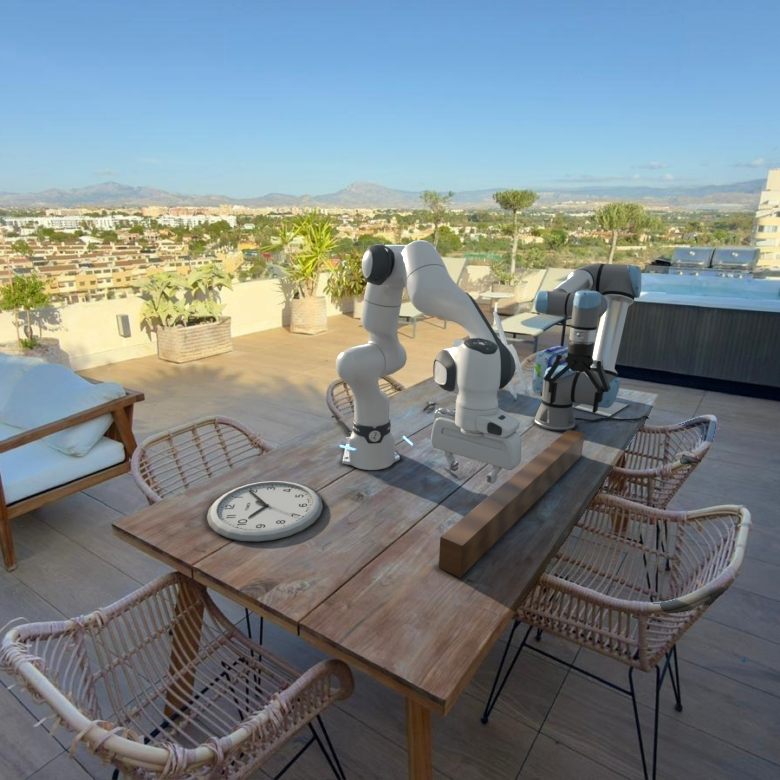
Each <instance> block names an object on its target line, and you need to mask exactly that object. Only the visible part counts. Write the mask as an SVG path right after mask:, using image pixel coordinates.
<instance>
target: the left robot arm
mask: <svg viewBox="0 0 780 780" xmlns="http://www.w3.org/2000/svg"><path fill="white" fill-rule="evenodd" d="M361 274H362V276H363V278H364V280H365V281H366V286H365V289H364V295H363V301H362V307H361V313H360V324H361V327H362V328H363V330H365V331H366V332H367V333H368V341H367V343H366V344H360V345H356V346H352V347H349V348H347V349H345V350H343V351H342V352H340V353H339V354H338V355H337V357H336V360H335V372H336V375H338V377H339V379H340V380H341V381H342V382H343V383H346V385H348V387H349V389H350V391H351V393H352V398H353V409H354V410H353V411H354V413H353V414H354V417H353V418H354V419H353V421H352V431H349V429H348V427H347V426H346V425H345V424H344V423H343V422H342V421H341V420H340V418H338V416H337V415H336V414H332V416H331V418H332V419H333V418H334V419H335V420H336V421H337V422H338V423H339V425H341V427H342V428H343V429H344V430H345V432H346V433H347V435H348V436H346V437H345V445H343V444H339V448H342V449H344V453H343V457H342V464H344V465H347V466H351V467H353V468H357V469H360V470H365V471H378V470H384V469H387V468H389V467H391V466H393V464H394V463H396V462H398V461H400V460H401V456H400V455H399V454H398V453H397V452H396V437H395V436H394V434H393V433H391V427H392V423H391V419H390V397H389V395H388V394H387V393H386V392H385V391H384V390H381V388H380V384H379V381H380V380H379V379H381V378H383V377H384V378H385V377H386V376H391V375H394V374H395V373H397V372H398V371H400V370H401V369H403V368H404V367H405V365H406V363H407V360H408V359H407V356H408V355H407V351H406V349H405V347H404V346H403V344H402V343H401V342H400V340H399V335H398V327H399V320H400V313H401V308H402V302H403V295H404V290H405V291H406V294H407V296H408V299H409V301H410V302H411V304H412V306H413V308H414V309H416V310H417V311H418V312H420V313H421V314H424V315H426V316H430V317H435V318H439V319H444V320H447V321H451V322H453V323H456V324H457V325H458V326H460V327H461V328H463V329H464V331H465V332H466V334H467V335H468V337H469V338H467V339H464V342H463V343H462V344H461V345H460V346H458V347H454V348H453V347H449V348H444V349H442V350H441V351H440V352H439V353H437V355H436V357H435V359H434V361H433V365H432V371H433V372H432V374H433V380H434V382H435V383H436V385H438V386H439V387H440V388H441V389H443V390H444V391H447V392H450V393H451V392H453V393H456V400H455V410H452V409H446V408H444V407H440V408H438V409H436V410H435V411H434V412H433V419H432V421H433V425H432V429H431V435H430V445H431V446H432V447H433V449H437V450H440V451H444V457H445V459H446V461H447V463H448V470H449V471H451V472H456V471H458V469H459V461H456V459H455V456H454V455H457V456H460V457H464V458H467V459H469V460H470V459H471V460H474V461H477V462H481V463H484V464H488V465H490V466H492V470H493V471H490V472H489V473H488V474H487V475H486V483H489V484H493V485H494V484H495V483H496V482H497V479H498V474H500V472H501V471H502V470H503V469H504V470H508V471H512V470H514V469H515V468H516V467H518V466H519V465H520V463H521V460H522V440H521V435H520V433H519V432H518V431H517V430H519V428H520V425H521V424H520V423H521V422H520V420H519V419H517V418H516V417H514V416H512V415H511V414H509V413H507V412H506V411H504V410H503V409H501V408H500V407H499V399H498V393H499V390H502V389H504V388H505V387H506V386H508V383H509V382H510V380H511V379H512V380H513V377H514V375H515V373H516V366H515V360H514V358H513V356H512V354H511V352H510V351H509V350H508V348H507V347H506V346H505V345H504V344H503V343H502V341H501V338H500V337H499V336H498V334H497V333H496V331H495V330H494V328H493V327H492V325H491V323H490V322H489V320H488V319H487V317H486V315H485V314H484V312H483V311H482V309H481V307H480V306H479V304H478V303H477V301H476V300H475V299H474V297H473V296H472V295H471V294H469V293H468V292H466V291H465V290H463V288H461V287H460V286H459V285H458V284H457V283H456V282H455V281H454V279H453V278H452V276H451V275H450V273H449V271H448V269H447V266H446V264H445V262H444V260H443V258H442V256H441V254H440V253H439V252H438V250H437V249H436V248H435V246H434V244H433V243H431V242H429V241H427V240H421V239H419V240H418V239H417V240H414V241H411V242H409V243H408V244H383V243H380V244H379V243H378V244H373V245H369V246H368V247H366V249H365V251H364V252H363V254H362V259H361ZM402 439H404V440H405V442H407V443H408V444H409V445H411V446H414V444H413V442H412V441H410V439H408V438H407V437H406V436H405V435H403V436H402Z"/></svg>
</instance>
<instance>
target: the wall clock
mask: <svg viewBox="0 0 780 780" xmlns="http://www.w3.org/2000/svg"><path fill="white" fill-rule="evenodd" d="M323 507H324V506H323V501H322V498H321V497H320V495H318V492H316V491H314V490H312V489H311V488H310V487H308V486H306V485H302V484H299V483H297V482H291V481H281V480H269V481H268V480H267V481H258V482H253V483H248V484H245V485H242V486H239V487H235V488H233V489H232V490H229V491H228V492H226V493H224V494H223V495H221V496H220V497H219V498H217V499H216V500H215V501H214V502H213V503H212V504H211V505H210V507H209V509H208V512H207V514H206V515H207V516H206V520H207V523H208V525H209V527H210V528H211V529H212V530H213V531H214V532H215V533H216V534H218V535H220V536H223V537H224V538H227V539H231V540H236V541H239V542H240V541H241V542H258V543H259V542H264V541H265V542H267V541H276V540H278V539H283V538H287V537H290V536H293V535H295V534H298V533H301V532H302V531H305V529H308V528H309V527H310V526H311V525H313V524H314V523H315V522H316V521H317V520H318V519H319V518H320V516H321V514H322V511H323Z"/></svg>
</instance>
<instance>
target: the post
mask: <svg viewBox="0 0 780 780" xmlns="http://www.w3.org/2000/svg"><path fill="white" fill-rule="evenodd" d="M584 442H585V433H584V432H579V431H576V430H567V431H564V432H563V433H562V434H561V435H560V436H559V437H558V438H556V439H555V440H554V441H552V442H551V443H550V444H549V445H548V446H547V447H545V448H544V449H543V450H542V451H541V452H539V454H537V455H536V456H534V458H532V459H531V460H530V461H529V462H528V463H526V464H525V465H524V466H523V467H521V469H519V470H518V471H517V472H516V473H515V474H513V475H512V476H511V477H510V478H508V479H507V480H506V481H505V482H503V484H502V485H500V486H499V487H498V488H497V489H496V490H494V491H493V492H492V493H491V494H489V495H488V496H487V497H486V498H485V499H484V500H482V501H481V502H480V503H478V504H477V505H476V506H475V507H473V509H471V510H470V511H469V512H468V513H467V514H466V515H464V516H463V517H462V518H461V519H460V520H459V521H457V522H456V523H455V524H454V525H453V526H451V527H450V528H449V529H448V530H446V531H445V532H444V533H443V534H442V535H440V536H439V553H438V569H439V570H442V571H444V572H447V573H449V574H450V575H453V576H455V577H458V578H462V577H463V576H464V575H465V574H466V573H467V571H469V570H470V569H471V568H472V567H473V565H475V564H476V563H477V562H478V561H479V560H480V559H481V558H482V557H483V555H484V554H486V553H487V552H488V551H489V549H491V548H492V547H493V545H495V543H496V542H497V541H498V540H499V539H501V538H502V537H503V535H505V533H506V532H507V531H508V530H509V529H511V527H513V526H514V524H515V523H516V522H517V521H518V520H519V519H520V518H521V517H523V515H524V514H525V513H526V512H527V511H528V510H530V508H531V507H532V506H533V505H535V503H536V502H537V501H538V500H540V498H541V497H543V495H544V494H545V493H546V492H547V491H548V490H549V489H550V488H551V487H552V486H553V485H554V484H555V483H556V482H557V481H558V480H559V479H560V478H562V476H563V475H564V474H565V473H566V472H567V471H568V470H569V469H570V468H571V467H572V466H574V464H575V463H576V462H577V461H578V460H579V459H580V458H582V455H583V448H584Z"/></svg>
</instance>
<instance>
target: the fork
mask: <svg viewBox="0 0 780 780" xmlns="http://www.w3.org/2000/svg"><path fill="white" fill-rule="evenodd" d="M436 400H437V397H436V396H432V395H431V396H430V399H429V401H428V404H426V405H425V407H424V409H423V411H422V412H424V411H426V410H428V408H429V407H430V406H431V405H433V404H435V403H436Z"/></svg>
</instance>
